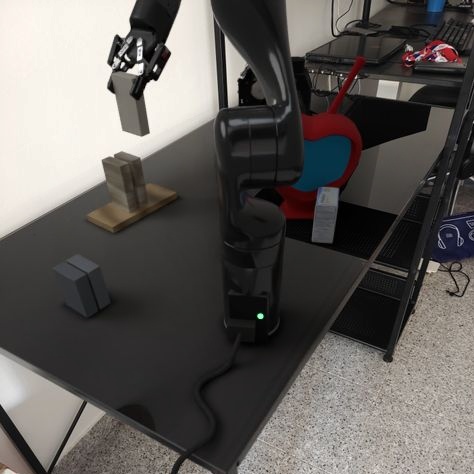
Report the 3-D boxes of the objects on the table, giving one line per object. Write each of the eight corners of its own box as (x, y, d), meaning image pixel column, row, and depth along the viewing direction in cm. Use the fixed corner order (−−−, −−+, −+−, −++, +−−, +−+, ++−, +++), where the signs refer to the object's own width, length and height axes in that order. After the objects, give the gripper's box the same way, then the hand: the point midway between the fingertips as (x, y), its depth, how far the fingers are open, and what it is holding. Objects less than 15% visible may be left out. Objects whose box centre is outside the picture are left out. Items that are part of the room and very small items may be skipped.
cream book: (130, 127, 93) (120, 71, 85) (150, 133, 90) (141, 75, 82) (122, 130, 91) (110, 73, 84) (141, 137, 89) (131, 78, 81)
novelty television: (257, 222, 96) (260, 65, 75) (259, 195, 105) (262, 48, 83) (351, 223, 95) (382, 65, 73) (344, 196, 104) (370, 47, 82)
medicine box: (332, 244, 89) (338, 205, 83) (310, 242, 90) (315, 203, 84) (334, 225, 95) (340, 187, 89) (313, 223, 95) (318, 185, 89)
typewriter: (336, 185, 108) (354, 69, 90) (231, 177, 112) (228, 65, 94) (341, 138, 129) (356, 37, 111) (252, 133, 133) (252, 35, 115)
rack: (151, 188, 109) (143, 138, 100) (177, 198, 105) (171, 147, 96) (87, 220, 98) (72, 168, 89) (114, 233, 94) (100, 179, 85)
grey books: (89, 290, 80) (77, 253, 74) (110, 302, 77) (99, 265, 72) (66, 304, 77) (51, 267, 71) (87, 318, 75) (74, 281, 69)
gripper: (117, -10, 82) (84, 76, 84) (172, -4, 76) (134, 89, 78) (142, 20, 89) (111, 99, 91) (194, 28, 82) (160, 113, 85)
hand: (122, 94), depth 84 cm, fingers closed on cream book, 6 cm apart
